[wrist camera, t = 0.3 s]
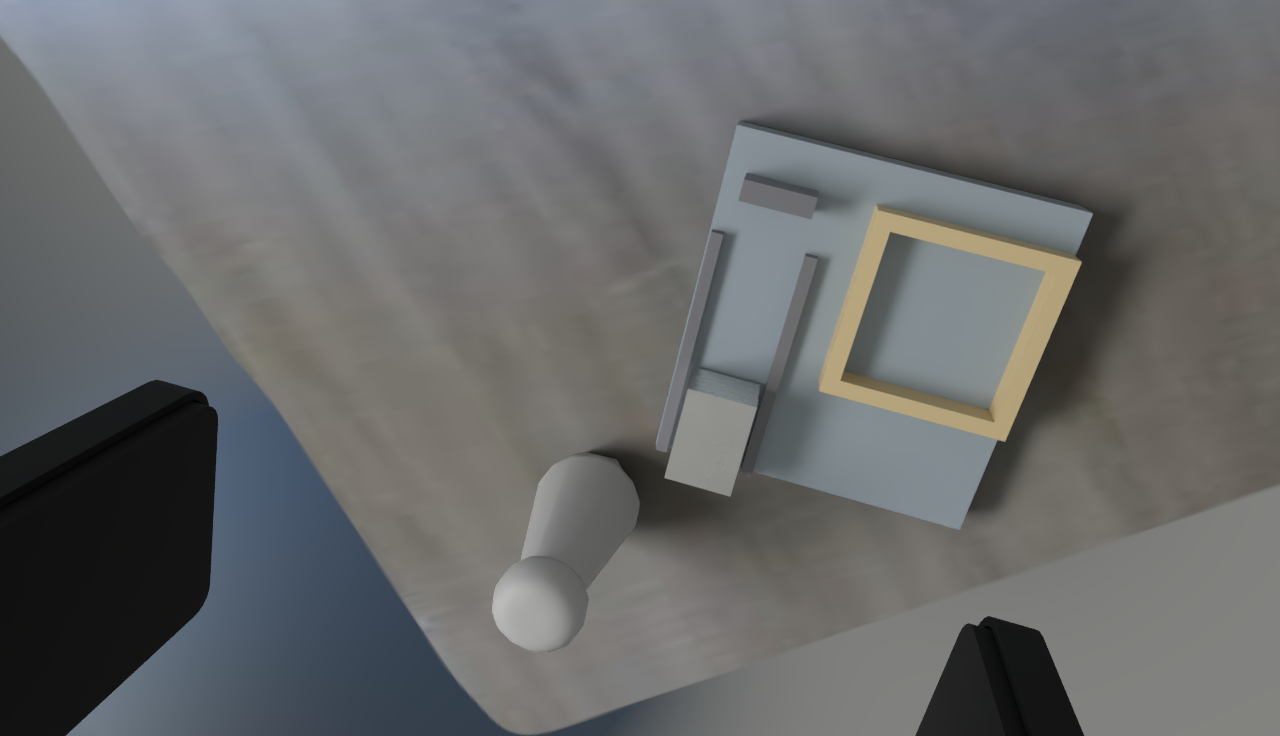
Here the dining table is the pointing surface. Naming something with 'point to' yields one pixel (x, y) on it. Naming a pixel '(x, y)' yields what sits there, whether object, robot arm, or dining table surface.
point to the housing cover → (712, 431)
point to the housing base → (874, 317)
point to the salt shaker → (565, 550)
